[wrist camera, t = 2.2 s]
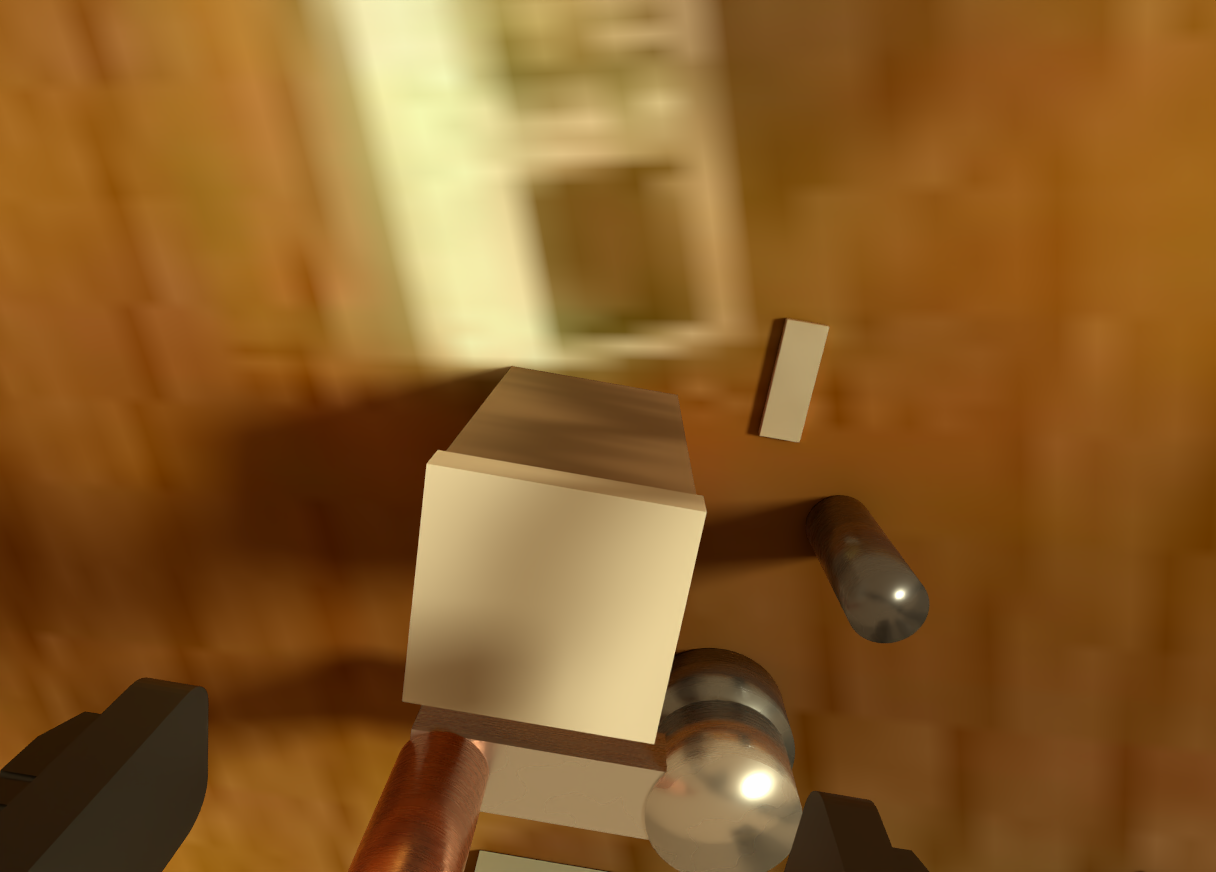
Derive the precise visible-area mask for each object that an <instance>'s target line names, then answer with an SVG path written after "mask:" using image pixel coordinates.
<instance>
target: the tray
mask: <svg viewBox="0 0 1216 872" xmlns="http://www.w3.org/2000/svg"><path fill="white" fill-rule="evenodd" d="M475 872H606V871H600V870H594V869H588V868H582V867H576V866H570V865H564V864H558V863H552V862H546V861H540V860H534V859H528V858H522V857H516V856H510V855H505V854H499V853H493V852H487V851H481V850H480V852H479V856H478V860H477V864H476V868H475Z"/></svg>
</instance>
